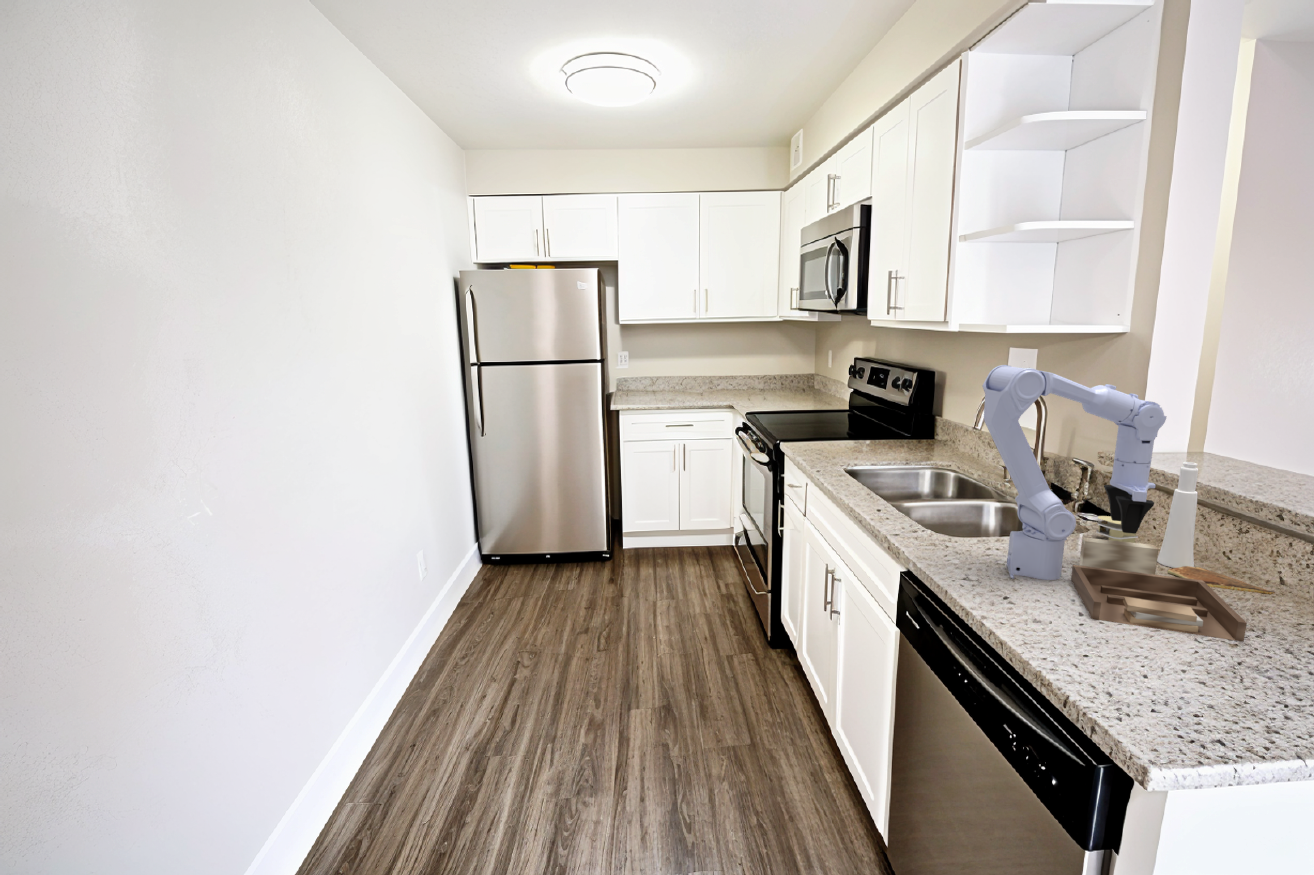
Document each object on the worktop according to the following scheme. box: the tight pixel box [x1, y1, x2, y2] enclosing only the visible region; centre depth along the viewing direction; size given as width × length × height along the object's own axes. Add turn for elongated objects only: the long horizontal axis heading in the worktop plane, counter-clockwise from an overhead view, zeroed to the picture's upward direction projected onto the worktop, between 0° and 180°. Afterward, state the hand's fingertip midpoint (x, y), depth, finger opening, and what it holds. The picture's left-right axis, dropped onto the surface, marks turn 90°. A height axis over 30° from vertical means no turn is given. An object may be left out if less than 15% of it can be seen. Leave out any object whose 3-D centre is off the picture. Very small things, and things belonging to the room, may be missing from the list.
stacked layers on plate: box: [1095, 515, 1139, 543], centre depth 140 cm, size 10×9×6 cm
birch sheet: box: [1078, 537, 1160, 575], centre depth 121 cm, size 12×2×7 cm, turn 66°
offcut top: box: [1123, 597, 1197, 622], centre depth 101 cm, size 9×4×1 cm, turn 61°
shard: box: [1167, 566, 1276, 596], centre depth 116 cm, size 13×9×2 cm
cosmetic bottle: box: [1157, 461, 1199, 569], centre depth 125 cm, size 6×6×22 cm
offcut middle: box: [1130, 611, 1203, 627], centre depth 101 cm, size 9×4×1 cm, turn 70°
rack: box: [1070, 564, 1248, 642], centre depth 107 cm, size 20×17×4 cm
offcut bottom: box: [1124, 608, 1199, 633], centre depth 101 cm, size 9×4×1 cm, turn 66°
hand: (1123, 526), depth 120 cm, fingers open, 7 cm apart
